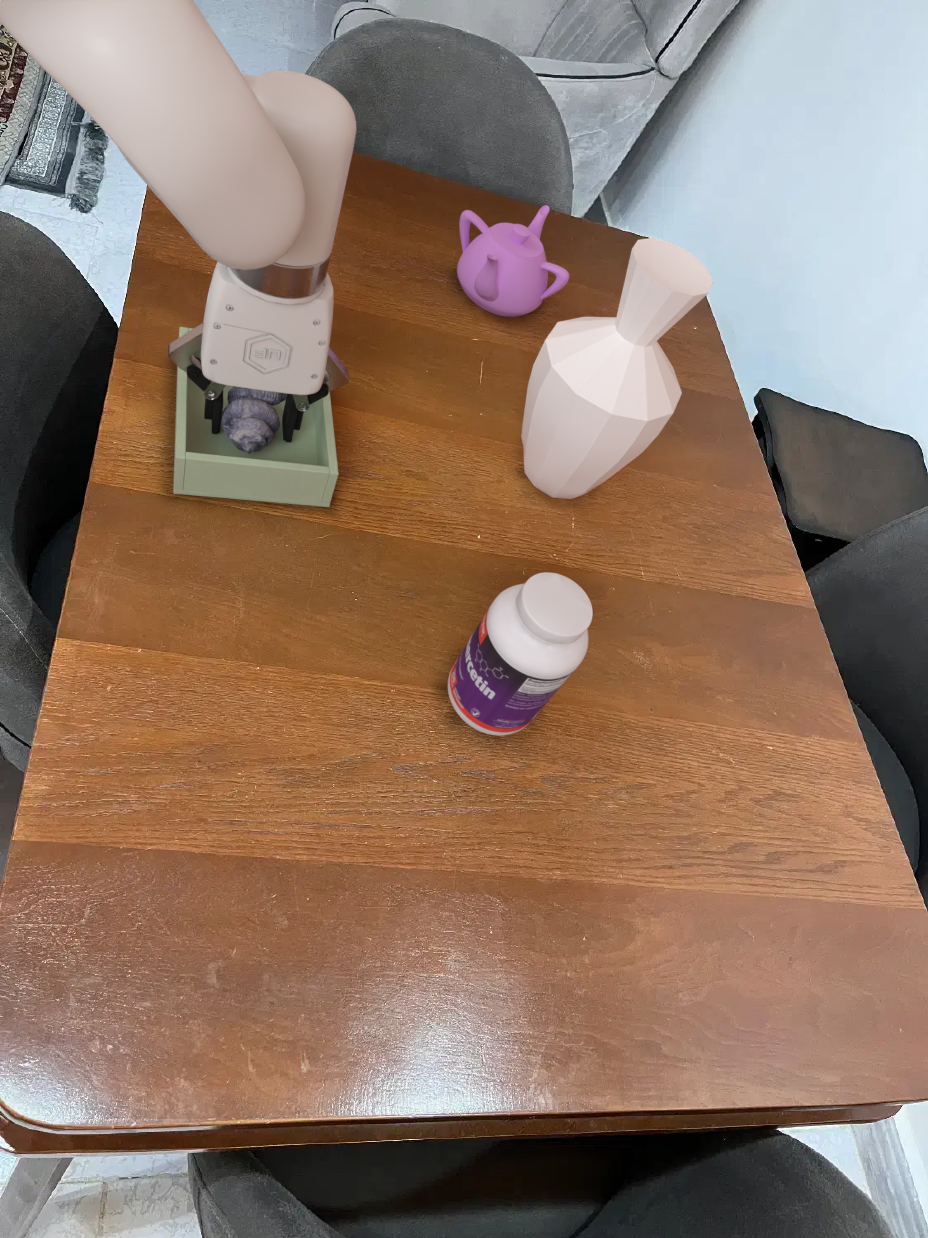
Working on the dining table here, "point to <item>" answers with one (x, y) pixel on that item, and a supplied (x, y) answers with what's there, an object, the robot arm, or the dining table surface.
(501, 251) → the teapot
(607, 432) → the vase
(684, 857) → the dining table surface
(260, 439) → the seashell
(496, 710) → the pill bottle
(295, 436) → the box
